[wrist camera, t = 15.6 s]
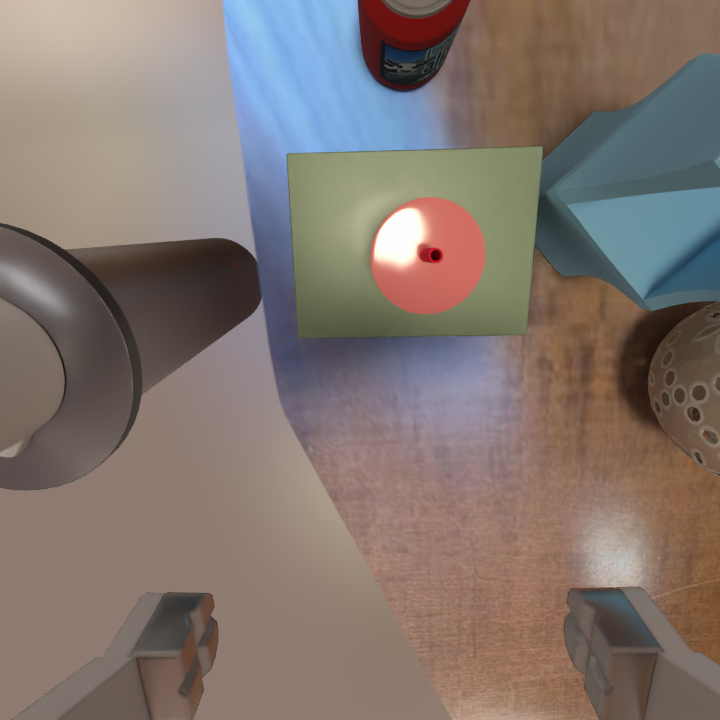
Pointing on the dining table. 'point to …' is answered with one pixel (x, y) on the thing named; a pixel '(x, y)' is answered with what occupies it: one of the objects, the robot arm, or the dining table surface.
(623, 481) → the dining table surface
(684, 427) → the ornament
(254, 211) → the dining table surface
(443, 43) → the beverage can
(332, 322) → the sage green box
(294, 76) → the dining table surface
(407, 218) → the cup
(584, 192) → the vase
